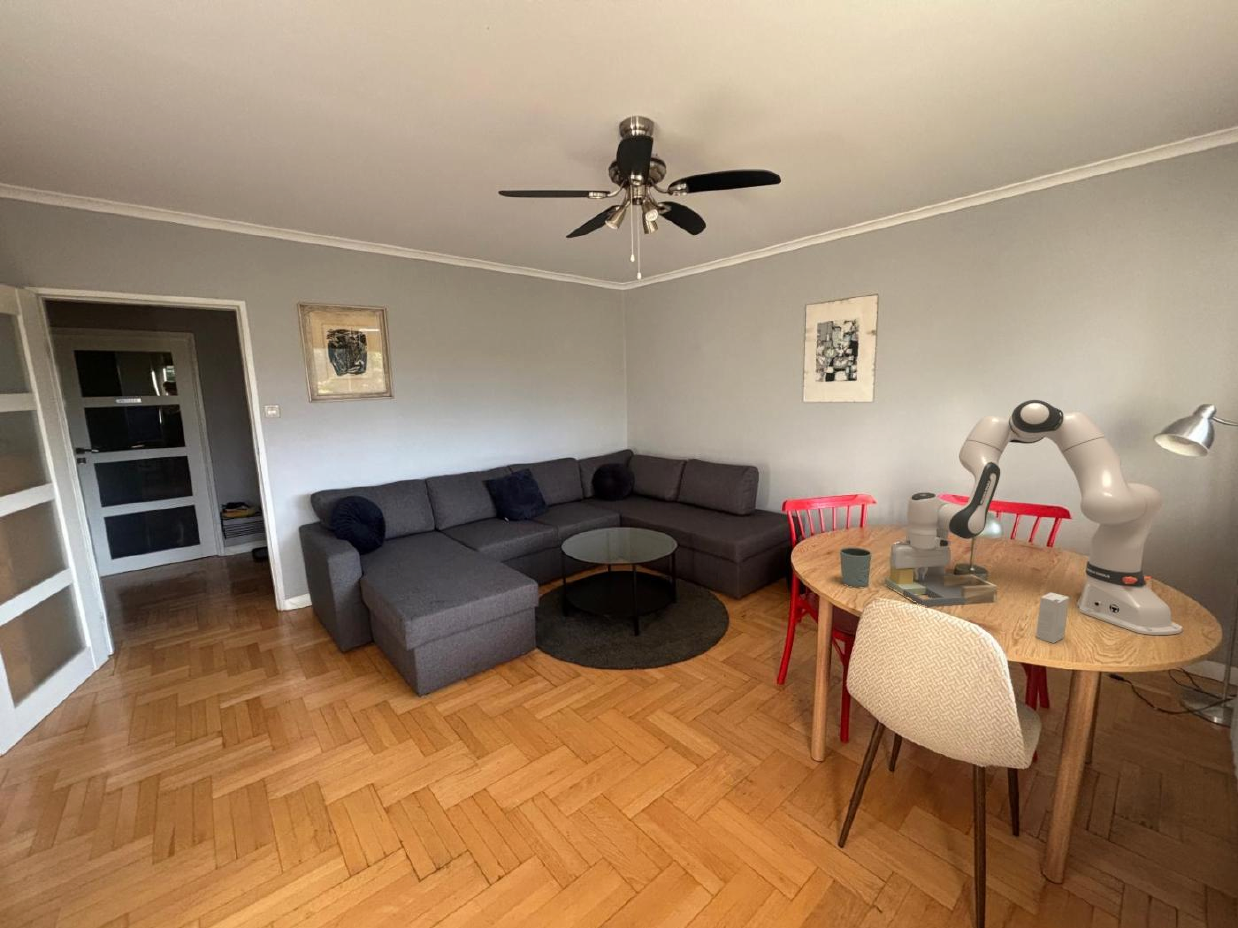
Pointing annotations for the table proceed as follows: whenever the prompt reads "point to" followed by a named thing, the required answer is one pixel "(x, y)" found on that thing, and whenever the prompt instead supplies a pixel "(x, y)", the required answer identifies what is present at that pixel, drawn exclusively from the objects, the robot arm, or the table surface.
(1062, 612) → the skincare box
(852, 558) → the teal cup
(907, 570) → the ochre block
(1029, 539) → the table surface
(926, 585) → the grey tray
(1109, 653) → the table surface
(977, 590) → the brown wooden open box
